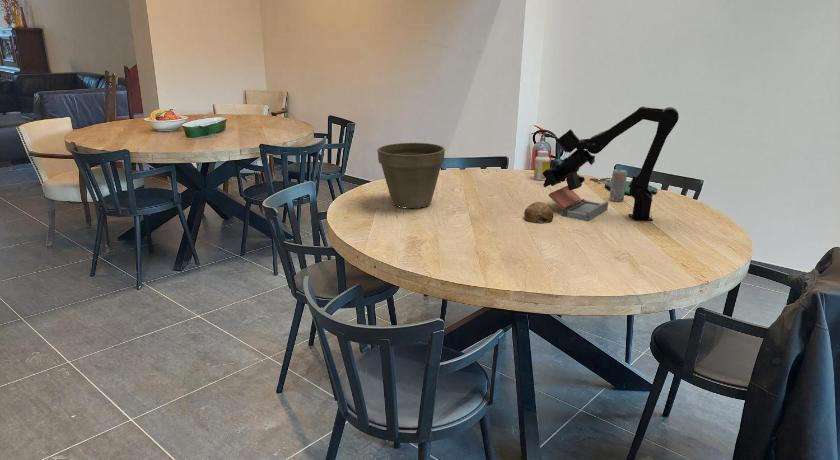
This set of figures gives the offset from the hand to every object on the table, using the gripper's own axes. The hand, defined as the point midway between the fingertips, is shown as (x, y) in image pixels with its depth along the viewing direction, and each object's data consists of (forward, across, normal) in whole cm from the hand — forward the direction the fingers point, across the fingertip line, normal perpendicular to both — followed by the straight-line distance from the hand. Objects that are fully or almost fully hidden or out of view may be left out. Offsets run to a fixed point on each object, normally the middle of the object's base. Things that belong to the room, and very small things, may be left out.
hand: (544, 186), depth 212 cm
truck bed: (-8, 0, -18) cm, 19 cm away
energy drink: (-9, +24, -19) cm, 32 cm away
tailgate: (-5, 0, -12) cm, 13 cm away
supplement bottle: (+19, +37, +9) cm, 43 cm away
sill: (-4, 0, -14) cm, 14 cm away
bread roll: (0, -18, -10) cm, 21 cm away
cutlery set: (-5, +47, -16) cm, 50 cm away
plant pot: (+33, -33, +22) cm, 52 cm away
